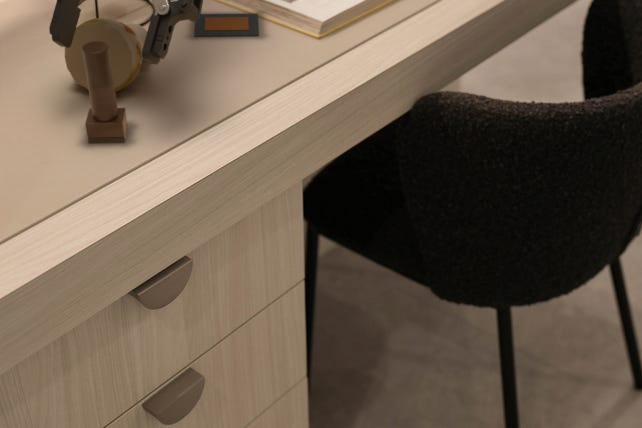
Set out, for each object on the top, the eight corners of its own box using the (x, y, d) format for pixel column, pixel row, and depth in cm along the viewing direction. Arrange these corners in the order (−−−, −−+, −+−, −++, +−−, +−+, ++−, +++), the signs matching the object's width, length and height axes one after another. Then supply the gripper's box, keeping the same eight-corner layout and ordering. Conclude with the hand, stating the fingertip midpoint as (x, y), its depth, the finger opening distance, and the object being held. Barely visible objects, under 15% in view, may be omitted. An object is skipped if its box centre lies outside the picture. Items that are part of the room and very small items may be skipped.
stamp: (88, 145, 77) (74, 54, 71) (92, 129, 79) (78, 39, 73) (125, 145, 77) (113, 53, 72) (128, 129, 79) (116, 39, 74)
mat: (194, 39, 94) (194, 34, 93) (195, 17, 98) (195, 13, 98) (259, 38, 94) (258, 34, 94) (257, 16, 99) (257, 12, 98)
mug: (172, 55, 91) (166, -2, 82) (128, 129, 87) (116, 78, 78) (108, 28, 91) (94, -32, 82) (62, 100, 88) (42, 47, 79)
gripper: (241, -91, 78) (195, 80, 76) (99, -112, 81) (52, 53, 79) (214, -136, 70) (163, 52, 69) (60, -157, 74) (7, 23, 72)
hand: (104, 52), depth 74 cm, fingers open, 8 cm apart
